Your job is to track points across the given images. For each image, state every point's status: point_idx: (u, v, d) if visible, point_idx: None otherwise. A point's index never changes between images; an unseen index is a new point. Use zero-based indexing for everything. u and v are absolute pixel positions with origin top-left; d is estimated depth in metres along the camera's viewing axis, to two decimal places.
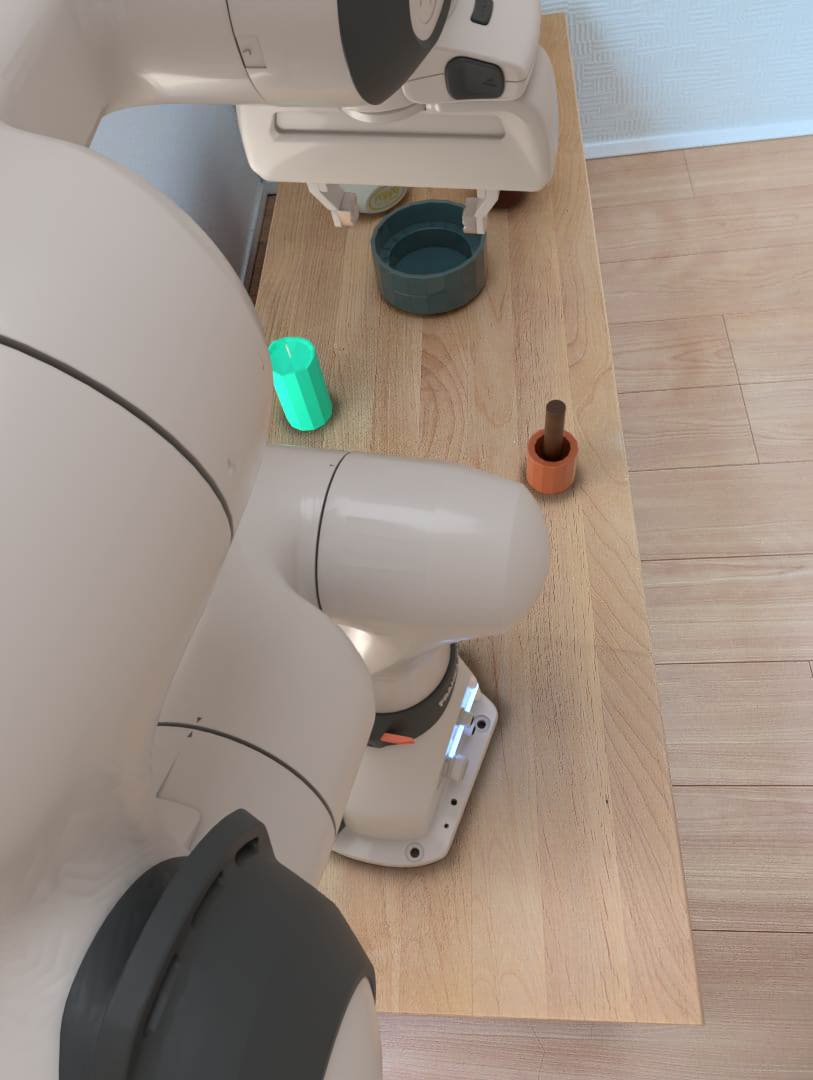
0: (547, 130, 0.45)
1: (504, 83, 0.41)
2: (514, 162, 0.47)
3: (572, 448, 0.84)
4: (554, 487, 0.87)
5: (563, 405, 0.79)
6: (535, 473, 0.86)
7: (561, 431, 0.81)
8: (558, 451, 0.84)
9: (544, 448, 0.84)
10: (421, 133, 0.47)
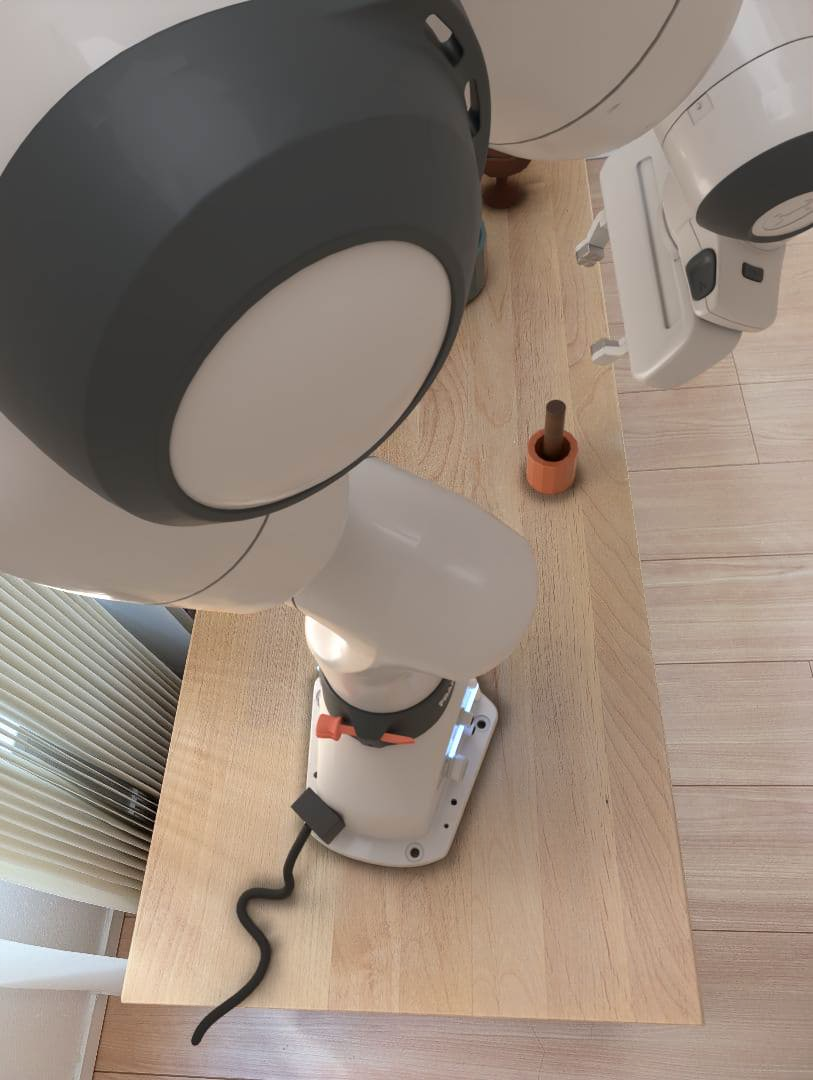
0: (678, 356, 0.56)
1: (703, 297, 0.52)
2: (650, 346, 0.58)
3: (572, 448, 0.84)
4: (554, 487, 0.87)
5: (563, 405, 0.79)
6: (535, 473, 0.86)
7: (561, 431, 0.81)
8: (558, 451, 0.84)
9: (544, 448, 0.84)
10: (658, 269, 0.58)
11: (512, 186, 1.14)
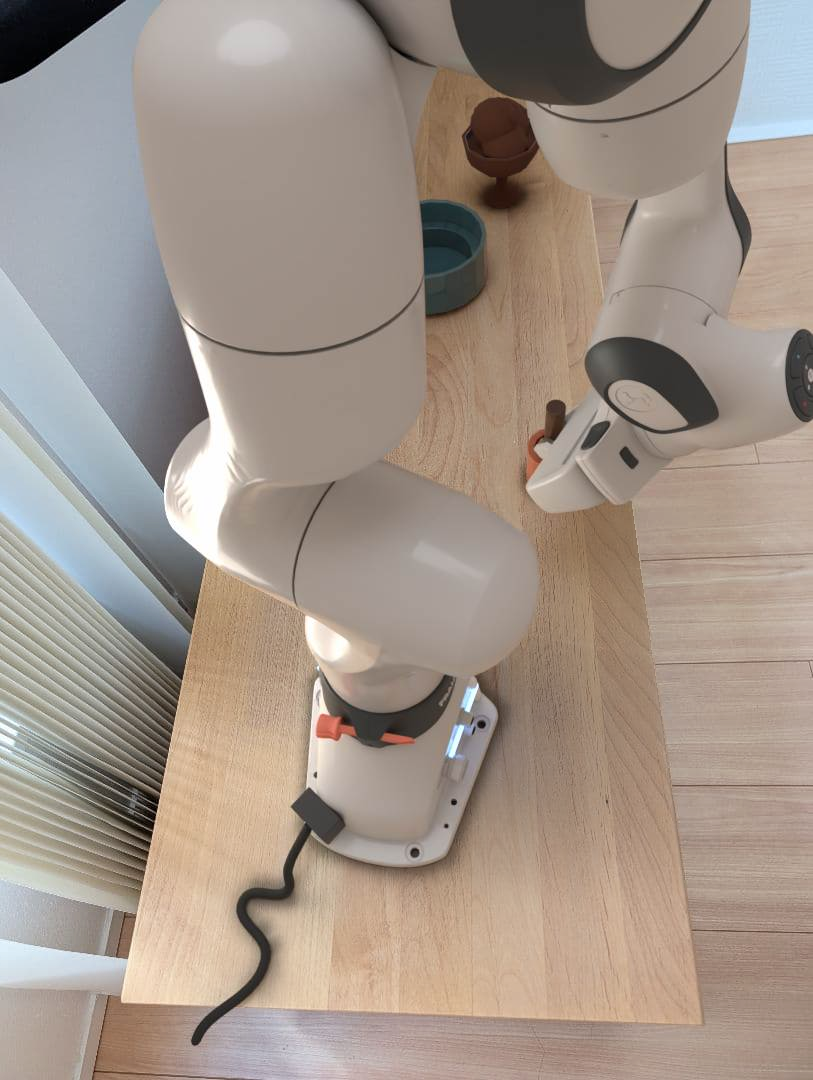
0: (553, 482, 0.72)
1: (585, 449, 0.69)
2: (547, 470, 0.74)
3: None
4: None
5: (563, 405, 0.79)
6: None
7: None
8: None
9: None
10: (588, 428, 0.75)
11: (512, 186, 1.14)
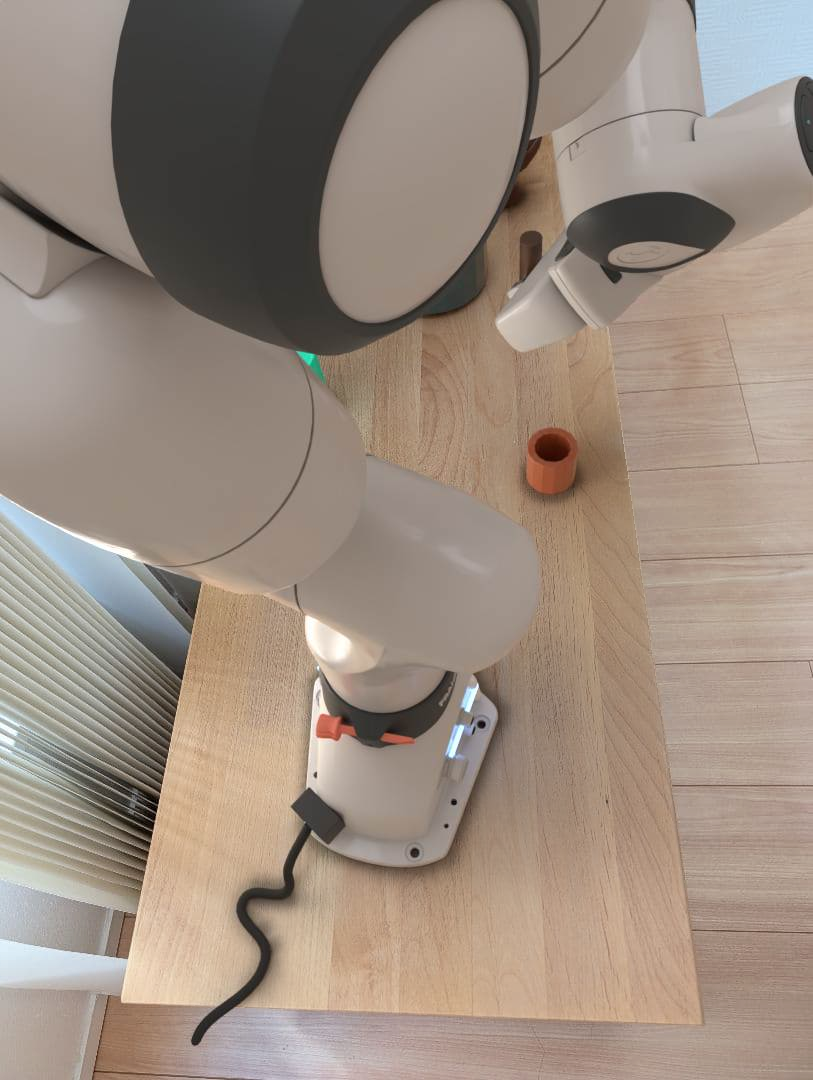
0: (524, 306, 0.62)
1: (559, 259, 0.59)
2: (518, 299, 0.65)
3: (572, 448, 0.84)
4: (554, 487, 0.87)
5: (539, 236, 0.69)
6: (535, 473, 0.86)
7: None
8: None
9: None
10: None
11: None
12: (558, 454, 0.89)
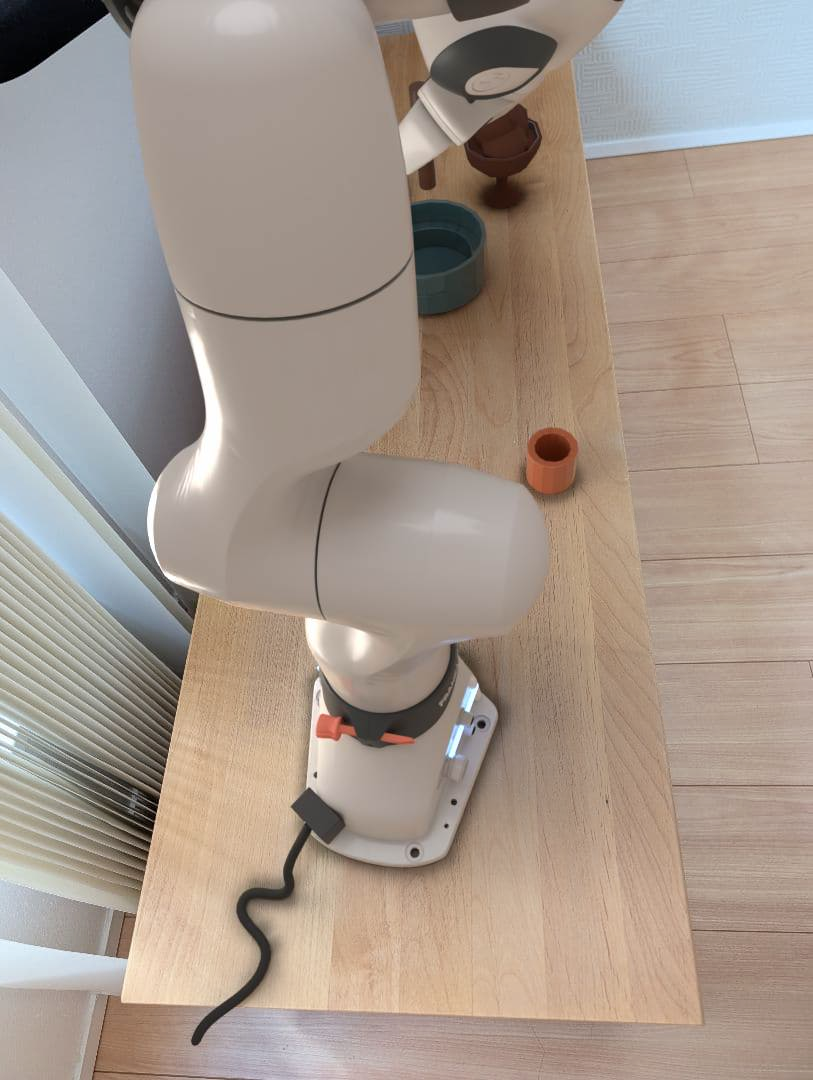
0: (401, 127, 0.77)
1: (425, 82, 0.74)
2: None
3: (572, 448, 0.84)
4: (554, 487, 0.87)
5: None
6: (535, 473, 0.86)
7: None
8: None
9: None
10: None
11: (512, 186, 1.14)
12: (558, 454, 0.89)
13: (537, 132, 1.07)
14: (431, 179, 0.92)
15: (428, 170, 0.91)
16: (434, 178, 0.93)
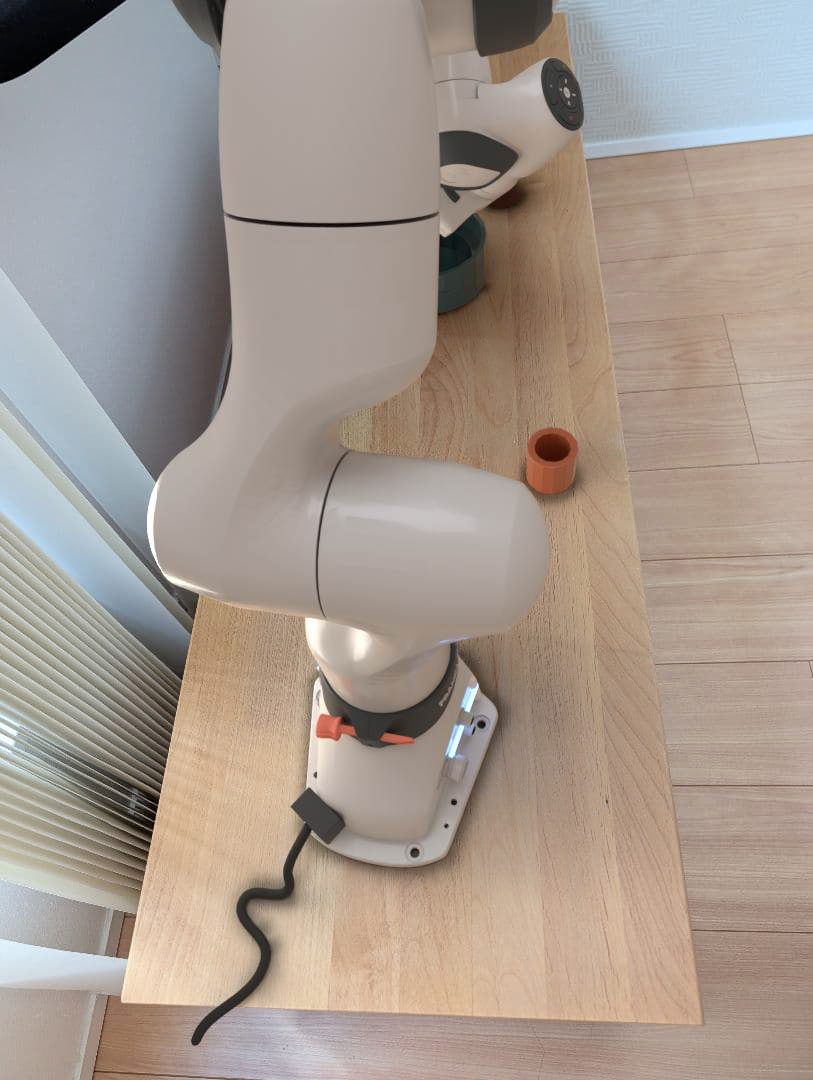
0: None
1: None
2: None
3: (572, 448, 0.84)
4: (554, 487, 0.87)
5: None
6: (535, 473, 0.86)
7: None
8: None
9: None
10: None
11: None
12: (558, 454, 0.89)
13: None
14: None
15: None
16: None
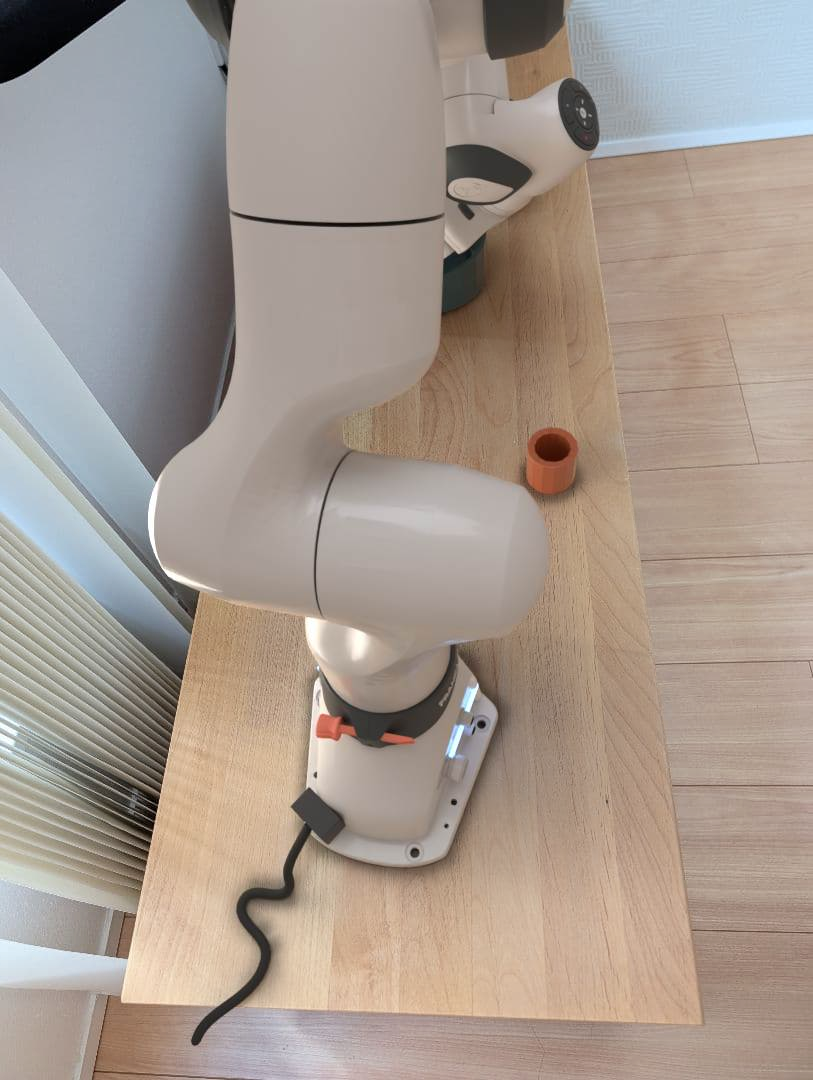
0: None
1: None
2: None
3: (572, 448, 0.84)
4: (554, 487, 0.87)
5: None
6: (535, 473, 0.86)
7: None
8: None
9: None
10: None
11: None
12: (558, 454, 0.89)
13: None
14: None
15: None
16: None
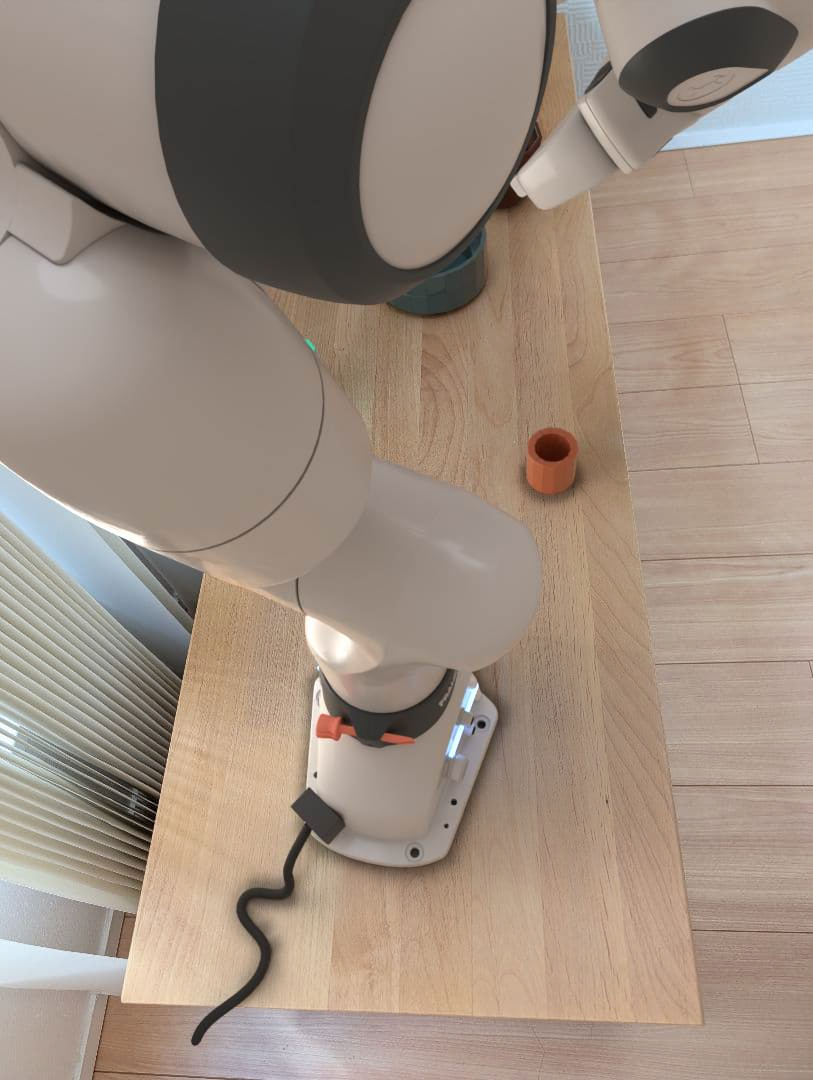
0: (550, 149, 0.58)
1: (590, 90, 0.55)
2: None
3: (572, 448, 0.84)
4: (554, 487, 0.87)
5: None
6: (535, 473, 0.86)
7: None
8: None
9: None
10: None
11: None
12: (558, 454, 0.89)
13: (537, 132, 1.07)
14: None
15: None
16: None
